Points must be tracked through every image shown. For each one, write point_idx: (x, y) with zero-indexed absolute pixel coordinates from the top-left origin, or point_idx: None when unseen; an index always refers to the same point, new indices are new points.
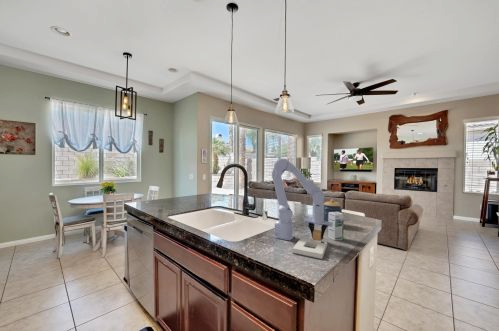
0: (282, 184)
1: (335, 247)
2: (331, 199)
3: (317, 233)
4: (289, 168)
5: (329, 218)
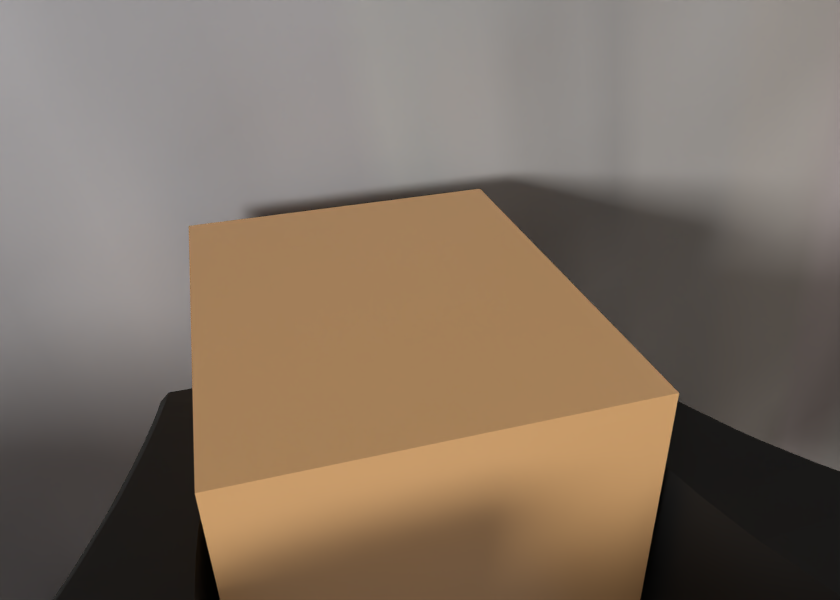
0: None
1: (778, 406)
2: None
3: None
4: None
5: None
